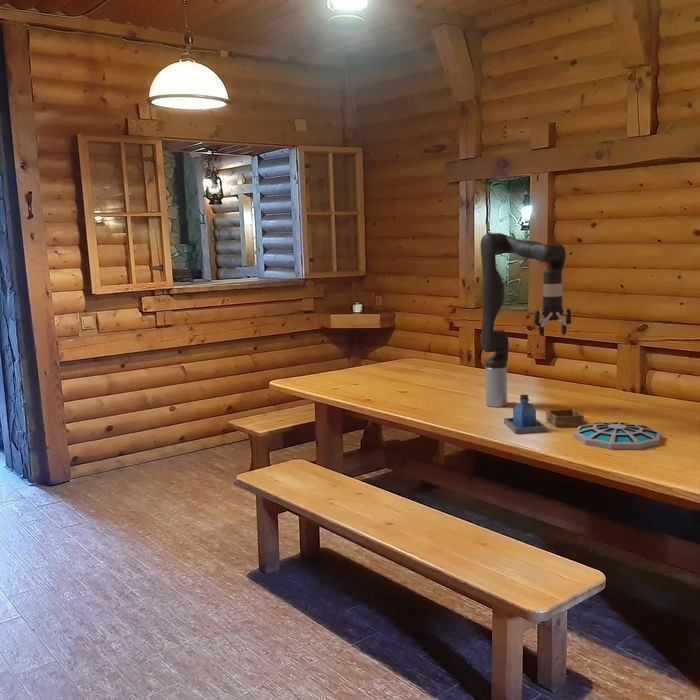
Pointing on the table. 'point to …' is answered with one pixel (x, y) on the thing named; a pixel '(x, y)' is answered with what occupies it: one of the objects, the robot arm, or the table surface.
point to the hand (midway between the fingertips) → (552, 335)
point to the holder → (564, 418)
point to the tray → (519, 430)
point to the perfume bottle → (524, 413)
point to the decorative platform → (618, 435)
